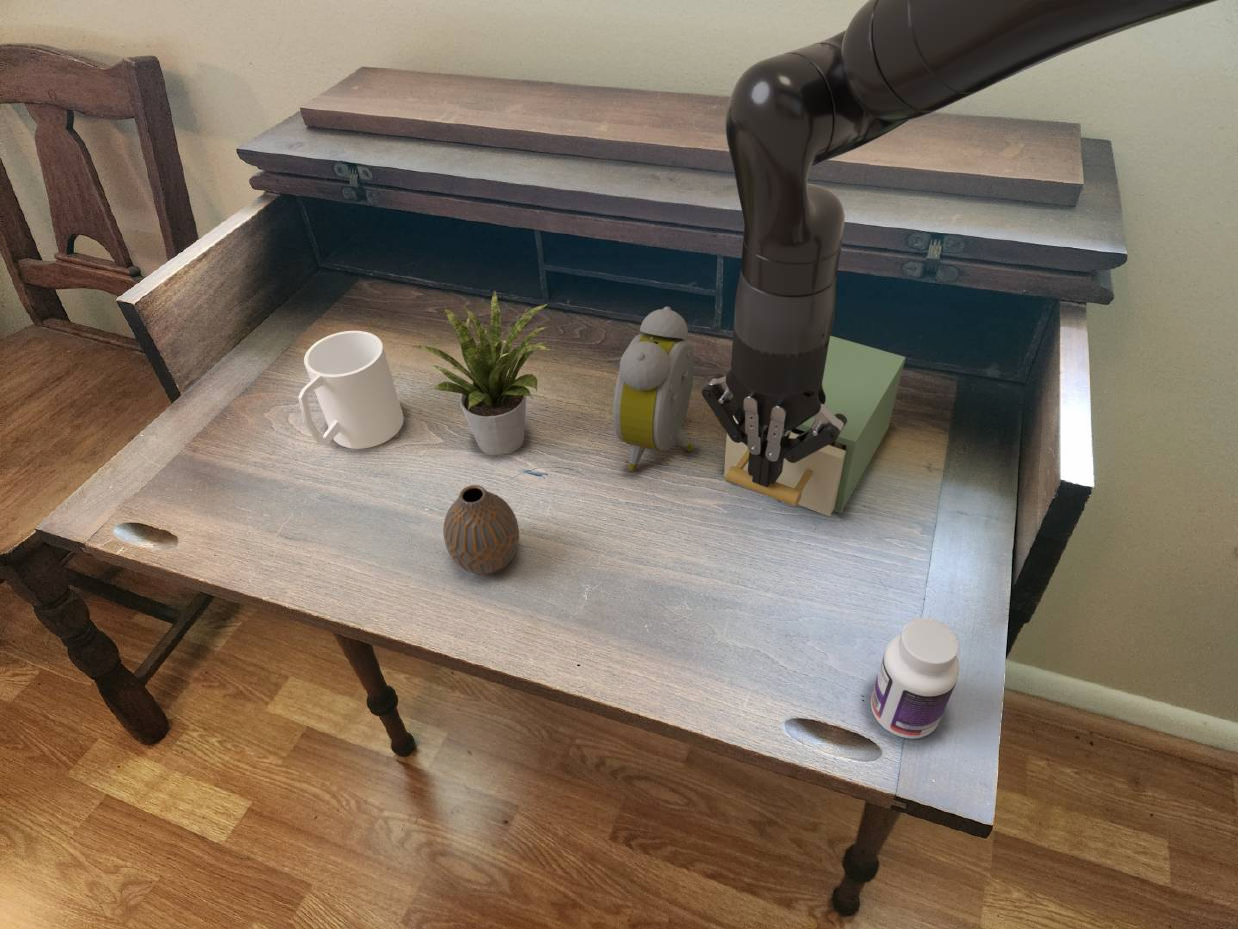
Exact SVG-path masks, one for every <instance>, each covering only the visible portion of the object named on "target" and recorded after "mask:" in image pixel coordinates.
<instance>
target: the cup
mask: <svg viewBox="0 0 1238 929" xmlns="http://www.w3.org/2000/svg"><path fill="white" fill-rule="evenodd" d="M303 364H304V367H305V369H306V372H307V374H308V377H309V380H310V381H309V382H308V383H307V384H306V385H304V387H303V388H301V390H300V392H299V395H298V397H297V399H298V403H299V407H300V412H301V416H302V420H303V425H304V426H305V428H306V429H307V431H308V432H309V434H310V435H311V437H312V439H313V440H314V441H315V443H316V444H320V445H325V446H328V444H329V443H330V442H331V441H332V440H333V441H334V442H335V443H336V444H338V445H339V446H341V447H344V448H348V449H355V450H361V449H369V448H374V447H376V446H377V447H378V446H381V445H382V444H384V443H387V442H388V441H389V440H391V439H392V438H393V437H395V436H396V435H397V434H398V433H399V432H400V431H401V429H402V427H403V425H404V419H405V418H404V414H403V409H402V406H401V403H400V400H399V397H398V393H397V389H396V386H395V383H394V379H393V376H392V372H391V369H390V365H389V362H388V360H387V355H386V351H385V347H384V345H383V342H382V340H381V339H380V338H379V337H378V336H377V335H375V334H374V333H371V332H368V331H362V330H346V331H340V332H339V331H338V332H335V333H333V334H332V333H331V334H329V335H327V336H324V337H323V338H321V339H319V340H318V341H316V342H314V344H312V345H311V346H310V347H309V348H308V349H307V351H306V353H305V355H304V358H303ZM310 392H314V393H315V395H316V398H317V401H318V403H319V406H320V410H321V412H322V414H323V417H324V420H325V421H326V425H327V427H328V428H327V430H326V431H325V433H323V434H322V433H321V432H320V430H319V428H318V427H317V426H316V424H315V422H314V421H313V418H312V412H311V408H310V404H309V399H308V398H309V397H308V394H309V393H310Z"/></svg>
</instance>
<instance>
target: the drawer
mask: <svg viewBox="0 0 1238 929" xmlns="http://www.w3.org/2000/svg"><path fill="white" fill-rule="evenodd" d="M733 418H734V420H735V421H736V423H737V424H738V422H737V420H736V419H735V417H734V416H733ZM804 432H805V431H802V430H799V429H796V428H795V429H793V430H792V431H791V435H790V438H796V437H797V436H799V435H800V434H802V433H804ZM725 441H726V442H725V456H724V469H723V470H724V471H723V477H724V478H725V479H726V481H727V482H729V483H732V484H734V485H737V486H740V487H743V488H745V489H748V490H749V491H753V492H756V493H759V494H761V495H764V496H766V497H769V498H772V499H775V500H777V501H779V502H782V503H785V504H788V505H791V506H793V507H797V506H802V507H804V508H806V509H809V510H811V511H814V512H816V513H819V514H822V515H825V516H827V517H831V516H832V514H833V512H834V511H833V510H834V507H835V502H836V498H837V493H838V488H839V483H840V478H841V473H842V468H843V463H844V458H845V453H846V451H845V450H846V445H843V444H840V443H837V442H833V443H831V444H829V445H827V446H825V447H823V448H822V449H820V450H818V451H816V452H814V453H812V454H811V455H809V456H807V457H805V458H803V459H801V460H800V461H798V462H796V463H790V462H788V461H787V460H786V459H785V458H784V463H783V471H782V473H781V474H780V476H779V478H778V479H777V481H776V482H775V483H774V484H772V483H770V485H769V486H768V487H764V486H762V485H759V484H756V483H754V482H752V478H753V476H750V475H749V473H748V463H749V462H748V461H749V451H748V447H747V446H746V445H745V444H744V443H742V442H740V443H736V442H734V441H732V440H731V438H730V437H729V435H728V434H727V433H726V440H725Z"/></svg>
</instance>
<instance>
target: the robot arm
mask: <svg viewBox="0 0 1238 929" xmlns="http://www.w3.org/2000/svg"><path fill="white" fill-rule="evenodd" d="M1217 1H1219V0H868V1H866V2H865V3H864V4H863V5H862V6H861V7H860V8H859V9H858V11H857V12H856V13H855V14H854V16H853V17H852V19H851V20H850V22H849V24H848V26H847V28H846V29H845V30H842V31H841V32H838V33H837V34H835V35H833V36H831V37H828V38H826V39H824V40H821V41H819V42H815V43H812V44H809V45H806V46H803V47H799V48H797V49H793V50H791V51H787V52H785V53H781V54H778V55H773V56H771V57H768V58H765V59H763V60H760V61H757V62H756V63H754V64H753V65H751V66H749V67H747V69H746V70H745V71H744V72H743V73H742V74H741V76H740V77H738V80H737V82H736V83H735V85H734V88H733V90H732V92H731V94H730V97H729V100H728V104H727V108H726V114H725V137H726V143H727V147H728V152H729V157H730V161H731V166H732V169H733V173H734V174H733V175H734V179H735V183H736V184H735V185H736V189H737V195H738V199H739V203H740V207H741V213H742V216H743V217H742V218H743V232H742V249H741V250H742V251H741V263H740V272H739V273H740V274H739V279H738V283H737V287H736V292H735V299H734V300H735V302H734V316H733V327H732V328H733V329H732V344H731V359H730V367H731V368H730V369H729V370H728V372H727V373H726V374H725V375H723V374H721V373H716V374H714V376H712V378H711V379H710V381H708V383H707V384H706V385H705V386H704V387H703V389H702V390H701V396H702V397H703V399H704V400H705V402H706V404H707V405H708V407H709V408H710V409H711V411H712V413H713V415H714V416H715V417H716V419H717V420H718V422H719V423H720V425H721V426H722V428H723V430H724V431H725V433H726V435H727V434H728V435H729V437H730V438H731V440H732V441H734V442H736V443H740V442H742V443H744V444H745V445H746V446H747V447H748V451H749V461H748V462H749V463H748V473H749V475H750V476H753V478H752V482H754V483H756V484H759V485H762V486H764V487H768V486H769V485H770V483H772V484H774V483H775V482H776V481H777V479H778V478H779V476H780V474H781V473H782V471H783V463H784V458H785V459H786V460H787V461H788V462H790V463H796V462H798V461H800V460H801V459H803V458H805V457H807V456H809V455H811V454H812V453H814V452H816V451H818V450H820V449H822V448H823V447H825V446H827V445H829V444H831V443H833V442H834V441H836V439H837V438H838V436H839V435H840V433H841V432H842V430H843V428H844V426H845V425H846V423H847V418H846V417H845V416H844V415H843V414H839V413H838V414H835V415H834V414H833V413H832V412H831V411H830V410H829V409H828V408H827V407H826V406H825V405H824V404H825V401H826V395H825V392H824V390H823V387H822V381H823V376H824V370H825V364H826V358H827V352H828V346H829V340H830V336H831V334H832V330H833V328H834V323H835V318H836V316H835V311H836V310H835V309H836V301H837V300H836V299H837V276H838V269H839V265H840V264H839V263H840V256H841V252H842V244H843V239H844V229H845V212H844V211H845V210H844V205H843V204H842V202H841V199H840V198H839V197H838V196H837V195H836V193H834V192H833V191H831V190H830V189H827V188H825V187H823V186H820V185H817V184H812V183H808V181H809V180H808V179H809V175H810V170H811V167H814V166H816V165H818V164H821V163H824V162H827V161H829V160H831V159H832V160H833V159H834V158H837V157H839V156H842V155H844V154H846V153H850V152H852V151H854V150H856V149H859V148H860V147H863V146H865V145H867V144H869V143H872V142H873V141H875V140H877V139H880V138H881V137H883V136H884V135H886V134H888V133H890V132H892V131H894V130H896V129H897V128H900V126H902V125H904V124H906V123H907V122H909V121H911V120H915V119H918V118H921V117H924V116H926V115H929V114H931V113H932V114H933V113H934V112H936V111H939V110H941V109H944V108H946V107H948V106H950V105H953V104H954V103H957V102H959V101H961V100H964V99H966V98H968V97H970V96H972V95H974V94H976V93H979V92H981V91H984V90H985V89H987V88H990V87H991V86H993V85H995V84H998V83H1000V82H1002V81H1005V80H1006V79H1008V78H1011V77H1013V76H1015V75H1017V74H1019V73H1022V72H1024V71H1026V70H1028V69H1031V68H1033V67H1035V66H1037V65H1040V64H1042V63H1045V62H1047V61H1049V60H1051V59H1053V58H1056V57H1058V56H1061V55H1063V54H1066V53H1068V52H1071V51H1073V50H1076V49H1079V48H1081V47H1084V46H1086V45H1089V44H1092V43H1094V42H1097V41H1100V40H1102V39H1105V38H1108V37H1110V36H1114V35H1116V34H1119V33H1122V32H1124V31H1127V30H1130V29H1133V28H1136V27H1138V26H1143V25H1145V24H1148V23H1152V22H1155V21H1158V20H1160V19H1164V18H1167V17H1170V16H1174V15H1177V14H1179V13H1182V12H1186V11H1189V10H1192V9H1195V8H1199V7H1201V6H1205V5H1208V4H1211V3H1215V2H1217ZM733 416H734V417H735V419H736V420H737V422H738V424H737V423H736V421H735V420H734V418H733ZM813 416H814V418H815V421H814V423H813V424H812V426H811V429H809V430H807V431H806V432H804V433H802V434H800V435H799V436H797V437H796V438H790V435H791V431H792V430H793V429H795V428H796V427H798V426H800V425H801V424H803V423H804V422H806V421H807V420H809V419H810V418H812V417H813Z"/></svg>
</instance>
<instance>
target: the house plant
mask: <svg viewBox="0 0 1238 929" xmlns="http://www.w3.org/2000/svg"><path fill="white" fill-rule="evenodd" d="M490 301H491V302H490V309H489V310H490V314H489V335H488V329H487V326H485V328H484V327H483V325H482V323H481V321H480V320H479V319H478V318H477V316H475V315H474V313H473V312H472V311H471V310H470V309H469V308H468V307H466V306H464V305H462V307H463V309H464V310H465V312H466V313H467V315H468V316H467V319H466V321H465V323H463V321H462V320H460V319H459V318H458V317H457V316H456V315H455V314H454V312H452V311H450V310H448V309H447V308H445V307H443V310H444V312H445V314H446V317H447V319H448V322H449V323H450V325H451V328H452V329H453V332H454V334H455V335H456V337H457V339H458V342H459V344H460V349H461V353H462V357H463V361H464V363H465V365H466V367H467V368H465V367H464V366H463V365H462V364H461V363H460V362H459V361H458V360H456V359H455V358H454V357H453V356H451V355H450V354H448V353H447V352H445V351H443V350H441V349H439V348H436V347H431V346H427V345H421V344H418V345H411V347H412V348H416V349H421V350H423V351H427V352H429V353H431V354H434V355H435V356H437V357H439V358H441V359H443V360H444V361H446V362H448V363H449V364H450V365H452V366H453V367H452V369H454V370H458V371H459V372H461V373H462V374H463V375H465V376H466V377H467V378H468V379H470V381H472V382H471V383H470V382H469V381H467V380H466V379H464V378H463V377H461V376H459V375H457V374H455V373H453V372H452V371H450V370H448V369H447V368H444V367H443V366H439V365H435V364H433V365H432V366H433V367H435V369H436V370H438V371H440V372H441V373H442V374H443V375H444V376H445V377H446V378H447V379H448V380H450V381H451V382H450V381H442V382H440V383H438V384H436V385H435V386H433V387H432V388H431V390H434V389H435V390H438V391H441V392H447V393H456V394H460V396H459V406H460V407H461V410H462V412H463V415H464V417H465V419H466V422H467V424H468V425H469V428H470V430H471V433H472V434H473V436H474V440H475V442H476V443H477V446H478V448H479V449H480V450H481V451H482V452H483V453H485V454H486V455H487V454H488V455H490V456H503V455H509V454H512V453H514V452H516V451H517V450H519V448H521V446H522V445H523V443H524V442H525V435H526V434H525V431H526V412H527V397H530V398H531V399H534V397H533V396H532V394H531V392H530V388H533V389H534V390H536V393H537V392H538V378H537V377H536V375H534V374H533V373H527V374H523V375H520V376H518V374H519V372H520V370H521V369H522V367H523V366H524V365H525V363H526V361H527V360H529V358H530V356H531V355H532V354H533V353H534V352H535V351H536V350H539V351H540V350H541V351H553V349H552V348H550V347H547V346H544V344H545V343H547V342H548V341H549V340H548V339H547V340H544V341H541V342H537V343H535V344H529V343H530V342H531V341H532V340H533V339H534V337H535V336H536V335H537V334H538V333H540V332H541V331H543V330H545V329H546V328H548V327H549V326H548V325H546V326H542V327H539V328H538V327H537V328H536V329H534V330H533V331H531V332H530V333H529V334H528V335H527V336H526V337H524V339H523V341H522V342H521V343H520V345H519V346H516V347H514V348H513V349H512V347H513V344H514V342H515V341H516V339H517V338H518V335H519V334H520V332H521V331H522V329H523V328H524V326H526V324H527V323H528V322H529V321H530V319H531V318H532V316H534V315H535V314H536V313H537V312H538V311H540V310H542V309H543V308H545V307H546V306H547V305H548V304H550V302H547V303H544V304H541V305H539V306H536V307H534V308H532V309H529V310H528V311H527V312H525V313H524V314H523V315H522V316H521V317H520V318H519V319H518V320H517V321H516V322H515V323H514V325H513V326H512V328H511V330H510V332H509V333H508V336H507V338H506V339H505V338H503V339H502V340H501V331H502V314H501V309H500V307H499V306H500V305H499V303H498V302H499V301H498V295H497V292H496V290H494V291H493V294H492V297H491V300H490ZM470 321H472V323H473V324H474V326H475V327H474V326H473V325H472V323H470ZM469 326H470V327H471V328H472V330H473V331H474V333H475V334H476V336H477V339H478V340H479V343H478V344H476V341H475V339H474V337H473V335H472V333H471V331H470V329H469ZM502 344H504V346H503V350H502ZM528 344H529V345H528ZM511 349H512V350H511ZM520 356H521V357H520ZM517 376H518V377H517ZM528 387H529V388H528Z"/></svg>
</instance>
